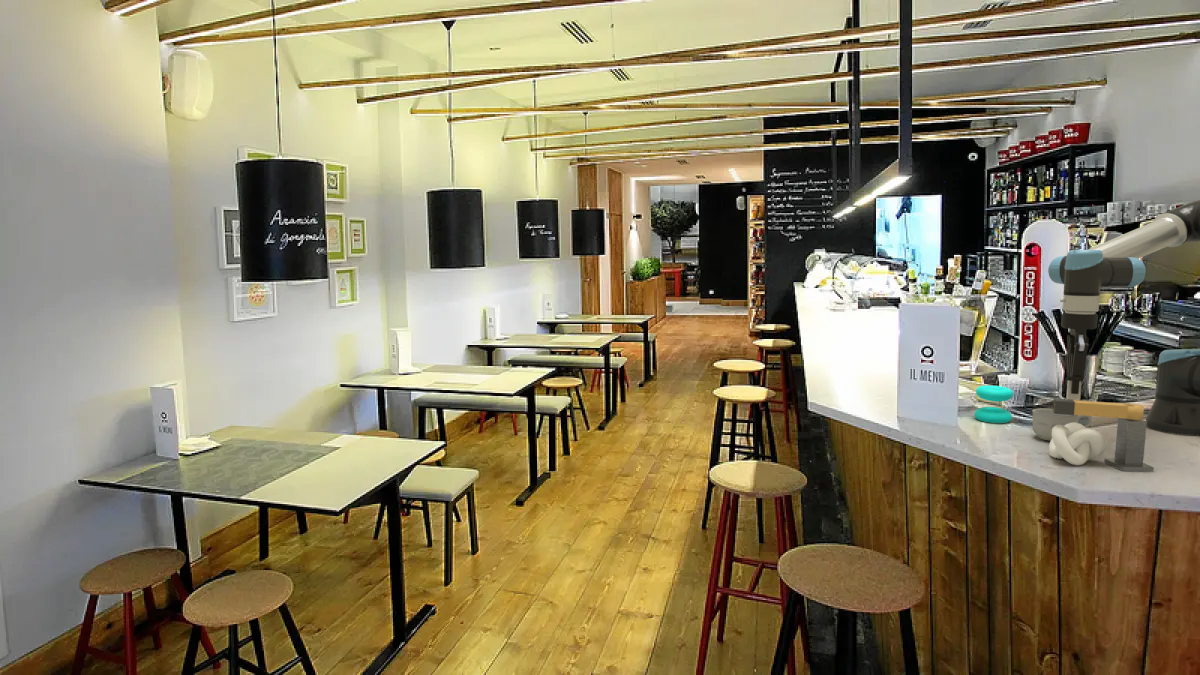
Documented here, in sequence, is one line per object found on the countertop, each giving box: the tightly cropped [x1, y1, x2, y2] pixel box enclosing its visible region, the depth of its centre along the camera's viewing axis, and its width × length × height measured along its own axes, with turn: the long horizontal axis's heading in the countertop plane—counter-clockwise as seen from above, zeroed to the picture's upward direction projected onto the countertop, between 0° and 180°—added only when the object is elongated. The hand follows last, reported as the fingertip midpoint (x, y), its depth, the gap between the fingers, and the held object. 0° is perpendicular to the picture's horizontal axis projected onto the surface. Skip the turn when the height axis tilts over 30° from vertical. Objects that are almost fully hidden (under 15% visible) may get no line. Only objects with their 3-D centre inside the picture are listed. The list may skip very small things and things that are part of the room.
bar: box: [1052, 397, 1145, 420], centre depth 176 cm, size 18×4×3 cm, turn 66°
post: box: [1103, 418, 1155, 472], centre depth 174 cm, size 7×7×12 cm
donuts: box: [974, 384, 1014, 424], centre depth 221 cm, size 10×10×10 cm
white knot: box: [1048, 422, 1106, 466], centre depth 179 cm, size 11×12×9 cm
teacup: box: [1032, 408, 1093, 442], centre depth 198 cm, size 14×11×8 cm
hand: (1072, 405), depth 184 cm, fingers closed
